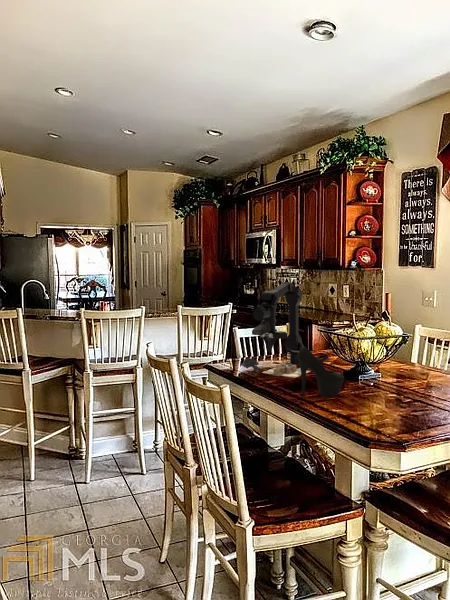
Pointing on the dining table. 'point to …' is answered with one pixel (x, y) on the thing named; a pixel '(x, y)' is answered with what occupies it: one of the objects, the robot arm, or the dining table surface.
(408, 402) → the dining table surface
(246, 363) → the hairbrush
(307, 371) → the birch board
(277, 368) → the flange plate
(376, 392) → the dining table surface
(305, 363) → the high-heeled shoe
